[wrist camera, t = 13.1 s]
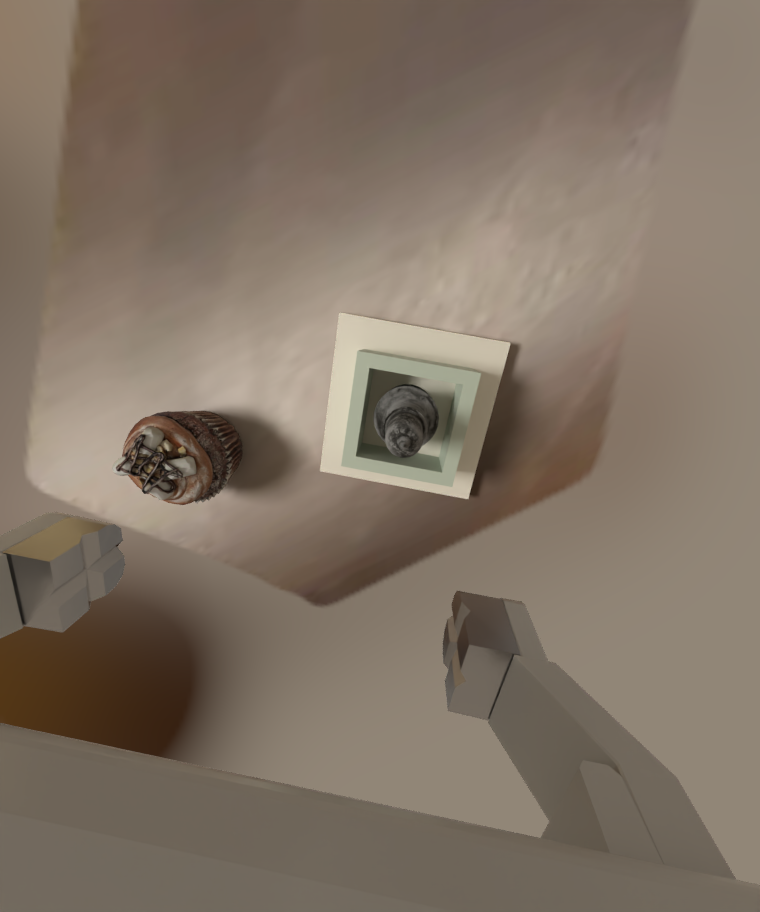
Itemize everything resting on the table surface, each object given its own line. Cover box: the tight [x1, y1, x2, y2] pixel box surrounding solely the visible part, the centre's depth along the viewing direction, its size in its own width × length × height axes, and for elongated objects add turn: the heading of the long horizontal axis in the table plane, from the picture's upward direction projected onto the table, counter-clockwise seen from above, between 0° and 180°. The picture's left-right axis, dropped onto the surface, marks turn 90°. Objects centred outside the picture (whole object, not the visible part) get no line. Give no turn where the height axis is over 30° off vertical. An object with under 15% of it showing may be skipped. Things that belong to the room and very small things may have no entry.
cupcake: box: [112, 411, 242, 505], centre depth 36 cm, size 10×10×10 cm
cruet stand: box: [320, 313, 511, 499], centre depth 34 cm, size 16×16×6 cm
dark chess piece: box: [374, 384, 439, 458], centre depth 30 cm, size 6×6×12 cm
